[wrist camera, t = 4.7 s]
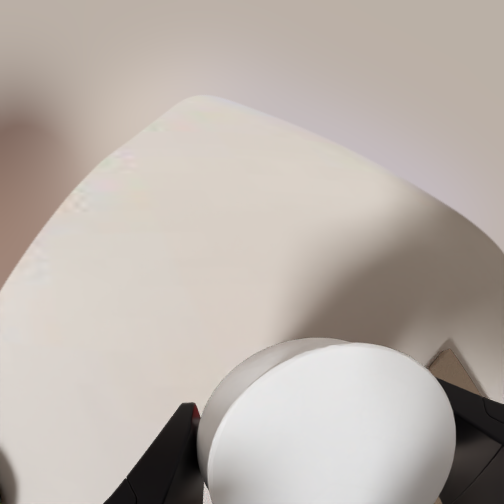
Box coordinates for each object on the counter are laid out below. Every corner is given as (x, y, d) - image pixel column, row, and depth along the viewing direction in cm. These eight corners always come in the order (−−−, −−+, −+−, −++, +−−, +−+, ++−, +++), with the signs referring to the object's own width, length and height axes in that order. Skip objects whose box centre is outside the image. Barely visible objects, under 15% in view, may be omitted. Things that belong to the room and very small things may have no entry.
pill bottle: (329, 355, 15) (446, 272, 5) (350, 456, 12) (487, 513, 2) (216, 376, 15) (139, 330, 5) (235, 481, 12) (201, 605, 2)
